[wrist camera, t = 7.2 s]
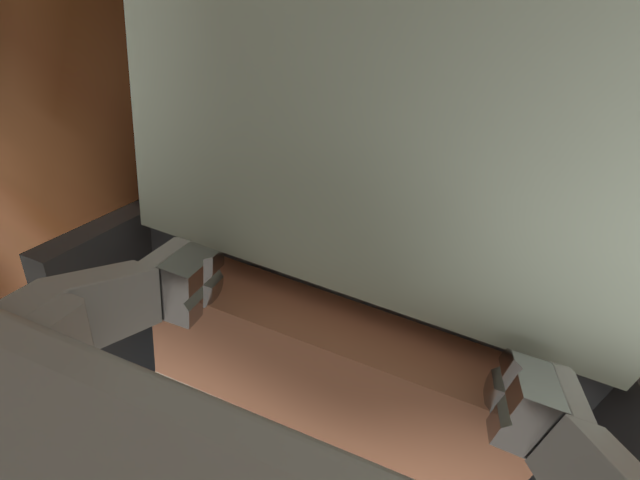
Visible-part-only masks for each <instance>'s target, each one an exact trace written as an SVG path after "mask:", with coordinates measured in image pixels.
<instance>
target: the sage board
mask: <svg viewBox="0 0 640 480" xmlns="http://www.w3.org/2000/svg"><path fill="white" fill-rule="evenodd" d="M123 2H124V15H125V27H126V40H127V53H128V65H129V78H130V91H131V103H132V116H133V129H134V141H135V154H136V167H137V179H138V192H139V204H140V217H141V225H144V226H147V227H150V228H153V229H156V230H159V231H162V232H165V233H167V234H170V235H173V236H176V237H180V238H183V239H186V240H189V241H192V242H195V243H198V244H201V245H204V246H206V247H209V248H212V249H215V250H217V251H220V252H223V253H226V254H229V255H231V256H234V257H237V258H240V259H243V260H246V261H249V262H252V263H255V264H258V265H261V266H263V267H266V268H269V269H272V270H275V271H278V272H281V273H284V274H287V275H290V276H293V277H295V278H298V279H301V280H304V281H307V282H310V283H313V284H316V285H319V286H322V287H325V288H327V289H330V290H333V291H336V292H339V293H342V294H345V295H348V296H351V297H354V298H357V299H359V300H362V301H365V302H368V303H371V304H374V305H377V306H380V307H383V308H386V309H389V310H391V311H394V312H397V313H400V314H403V315H406V316H409V317H412V318H415V319H418V320H421V321H423V322H426V323H429V324H432V325H435V326H438V327H441V328H444V329H447V330H450V331H453V332H455V333H458V334H461V335H464V336H467V337H470V338H473V339H476V340H479V341H482V342H484V343H487V344H490V345H493V346H496V347H499V348H502V349H506V348H509V349H512V350H515V351H518V352H521V353H524V354H527V355H530V356H534V357H537V358H540V359H543V360H546V361H551V362H554V363H557V364H561V365H564V366H567V367H570V368H571V369H573V370H574V371H575V373H576V374H578V375H580V376H583V377H586V378H589V379H592V380H595V381H598V382H601V383H604V384H607V385H610V386H612V387H615V388H618V389H621V390H624V391H627V390H628V389H629V388H630V387H631V386H632V385H633V384H634V383H635V382H636V381H637V380H638V379H639V378H640V0H123Z"/></svg>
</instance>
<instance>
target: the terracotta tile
mask: <svg viewBox="0 0 640 480" xmlns="http://www.w3.org/2000/svg"><path fill="white" fill-rule="evenodd" d="M220 271H221V273H222V275H223V276H224V280H223V286H222V290H221V292H220V294H219V296H218V298H217V299H216V300H215V301H214V302H213V303H212V304H210V305H207V307H205V308H203V315H202V316H201V317H200V319H199V320H198V321H197V322H196V323H195V324H194V325H193V326H192V327H191V328H190V329H186V328H183V327H180V326H177V325H174V324H171V323H169V322H166V321H163V320H162V322H161V323H159V324H156V325H154V326H152V331H153V345H154V358H155V371H156V372H158V373H161V374H163V375H166V376H168V377H170V378H173V379H175V380H177V381H180V382H182V383H184V384H187V385H189V386H192V387H194V388H196V389H199V390H201V391H203V392H206V393H208V394H211V395H213V396H215V397H218V398H220V399H222V400H225V401H227V402H229V403H232V404H234V405H237V406H239V407H241V408H244V409H246V410H248V411H251V412H253V413H256V414H258V415H260V416H263V417H265V418H268V419H270V420H273V421H275V422H277V423H280V424H282V425H285V426H287V427H289V428H292V429H294V430H297V431H299V432H302V433H304V434H306V435H309V436H311V437H314V438H316V439H319V440H321V441H323V442H326V443H328V444H331V445H333V446H335V447H338V448H340V449H343V450H345V451H348V452H350V453H352V454H355V455H357V456H360V457H362V458H364V459H367V460H369V461H372V462H374V463H377V464H379V465H381V466H384V467H386V468H389V469H391V470H394V471H396V472H398V473H401V474H403V475H406V476H408V477H410V478H413V479H415V480H529V478H530V477H531V476H532V475H533V474H532V472H531V470H530V469H529V467H528V466H527V464H526V462H525V460H526V459H523V458H521V457H518V456H516V455H514V454H511V453H509V452H506V451H504V450H501V449H499V448H497V447H494V446H492V445H489V440H488V433H487V426H486V419H487V418H488V416H489V415H490V413H489V412H490V411H489V409H488V408H487V407H486V405H485V404H484V396H483V388H484V384H485V381H486V378H487V376H488V374H489V372H490V371H491V369H494V368H497V367H499V366H500V364H499V356H500V355H501V353H502V351H499V350H496V349H493V348H490V347H487V346H484V345H481V344H478V343H475V342H472V341H470V340H467V339H464V338H461V337H458V336H455V335H452V334H449V333H446V332H443V331H440V330H437V329H435V328H432V327H429V326H426V325H423V324H420V323H417V322H414V321H411V320H408V319H405V318H402V317H400V316H397V315H394V314H391V313H388V312H385V311H382V310H379V309H376V308H373V307H370V306H367V305H365V304H362V303H359V302H356V301H353V300H350V299H347V298H344V297H341V296H338V295H335V294H332V293H330V292H327V291H324V290H321V289H318V288H315V287H312V286H309V285H306V284H303V283H300V282H297V281H295V280H292V279H289V278H286V277H283V276H280V275H277V274H274V273H271V272H268V271H265V270H262V269H260V268H257V267H254V266H251V265H248V264H245V263H242V262H239V261H236V260H233V259H230V258H227V257H225V256H224V265H223V266H222V267H221V268H220Z"/></svg>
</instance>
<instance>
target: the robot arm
mask: <svg viewBox="0 0 640 480" xmlns="http://www.w3.org/2000/svg"><path fill="white" fill-rule="evenodd" d="M223 265H224V254H223V253H222V252H220V251H217V250H215V249H212V248H209V247H206V246H204V245H201V244H198V243H195V242H192V241H189V240H186V239H183V238H180V237H174V238H172V239H171V240H169V241H168V242H166V243H165V244H163V245H162V246H160V247H159V248H157V249H156V250H154V251H153V252H151V253H150V254H148V255H147V256H145V257H144V258H142V259H141V260H139V261H135V260H130V261H125V262H120V263H115V264H110V265H105V266H100V267H94V268H89V269H84V270H79V271H74V272H69V273H64V274H59V275H54V276H49V277H44V278H38V279H36V280H34V281H32V282H31V283H29V284H27V285H25V286H23V287H22V288H20V289H18V290H16V291H14V292H12V293H11V294H9V295H7V296H5V297H3V298H2V299H0V480H415V479H413V478H410V477H408V476H406V475H403V474H401V473H398V472H396V471H394V470H391V469H389V468H386V467H384V466H381V465H379V464H377V463H374V462H372V461H369V460H367V459H364V458H362V457H360V456H357V455H355V454H352V453H350V452H348V451H345V450H343V449H340V448H338V447H335V446H333V445H331V444H328V443H326V442H323V441H321V440H319V439H316V438H314V437H311V436H309V435H306V434H304V433H302V432H299V431H297V430H294V429H292V428H289V427H287V426H285V425H282V424H280V423H277V422H275V421H273V420H270V419H268V418H265V417H263V416H260V415H258V414H256V413H253V412H251V411H248V410H246V409H244V408H241V407H239V406H236V405H234V404H231V403H229V402H227V401H224V400H222V399H219V398H217V397H214V396H212V395H210V394H207V393H205V392H202V391H200V390H198V389H195V388H193V387H190V386H188V385H185V384H183V383H181V382H178V381H176V380H173V379H171V378H168V377H166V376H164V375H161V374H159V373H156V372H154V371H152V370H149V369H147V368H144V367H142V366H139V365H137V364H135V363H132V362H130V361H127V360H125V359H123V358H120V357H118V356H115V355H113V354H110V353H108V352H106V351H103V350H101V348H103V347H106V346H108V345H110V344H113V343H115V342H117V341H119V340H122V339H124V338H126V337H129V336H131V335H133V334H136V333H138V332H140V331H143V330H145V329H147V328H149V327H152V326H154V325H156V324H159V323H161V322H162V320H163V321H166V322H169V323H171V324H174V325H177V326H180V327H183V328H186V329H190V328H191V327H192V326H193V325H194V324H195V323H196V322H197V321H198V320H199V319H200V317H201V316H202V315H203V308H205V307H207V305H210V304H212V303H213V302H214V301H215V300H216V299H217V298H218V296H219V294H220V292H221V290H222V286H223V280H224V276H223V275H222V273H221V271H220V268H221V267H222V266H223ZM499 364H500V366H499V367H497V368H494V369H491V371H490V372H489V374H488V376H487V378H486V381H485V384H484V388H483V396H484V404H485V405H486V407H487V408H488V409H489V411H490V412H489V413H490V415H489V416H488V418H487V419H486V426H487V433H488V440H489V445H492V446H494V447H497V448H499V449H501V450H504V451H506V452H509V453H511V454H514V455H516V456H518V457H521V458H523V459H526V460H525V462H526V464H527V466H528V467H529V469H530V470H531V472H532V474H533V475H534V477H535V479H536V480H640V462H639V461H638V460H637V459H636V458H635V457H634V456H633V455H632V454H631V453H630V452H629V451H628V450H627V449H626V448H625V447H624V446H623V445H622V444H621V443H620V442H619V441H618V440H617V439H616V438H615V437H614V436H613V435H612V434H611V433H610V432H609V431H608V430H607V429H606V428H605V427H602V426H600V425H598V424H597V421H596V419H595V417H594V415H593V412H592V410H591V408H590V405H589V403H588V401H587V398H586V396H585V394H584V392H583V389H582V387H581V385H580V382H579V380H578V378H577V375H576V373H575V371H574V370H573V369H571V368H570V367H567V366H564V365H561V364H557V363H554V362H551V361H546V360H543V359H540V358H537V357H534V356H530V355H527V354H524V353H521V352H518V351H515V350H512V349H509V348H506V349H505V350H504V351H503V352H502V353H501V355H500V356H499Z"/></svg>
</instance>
